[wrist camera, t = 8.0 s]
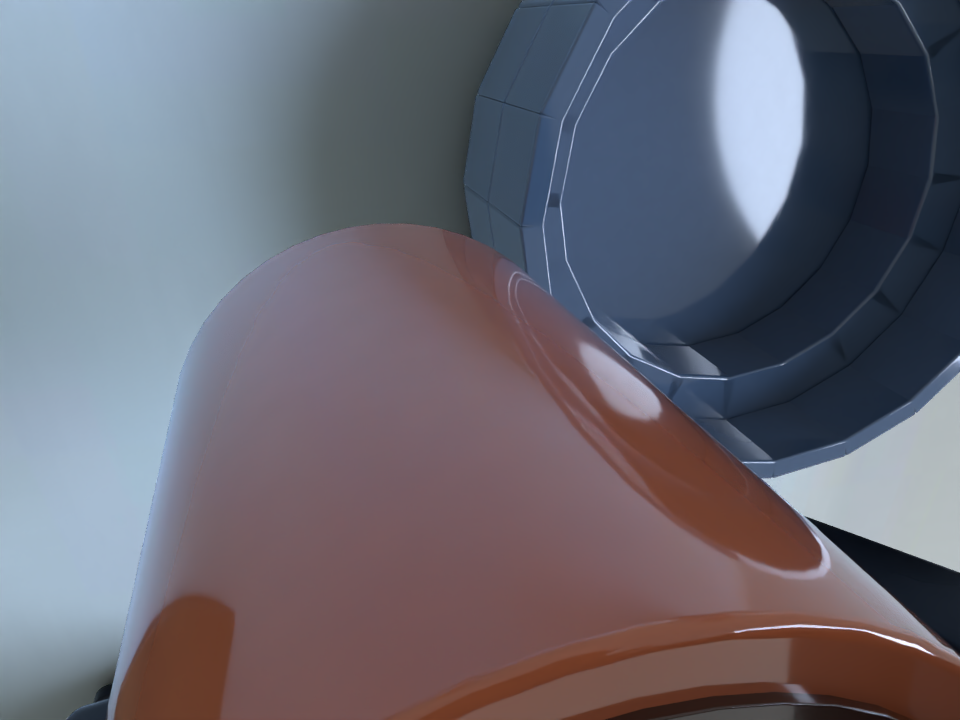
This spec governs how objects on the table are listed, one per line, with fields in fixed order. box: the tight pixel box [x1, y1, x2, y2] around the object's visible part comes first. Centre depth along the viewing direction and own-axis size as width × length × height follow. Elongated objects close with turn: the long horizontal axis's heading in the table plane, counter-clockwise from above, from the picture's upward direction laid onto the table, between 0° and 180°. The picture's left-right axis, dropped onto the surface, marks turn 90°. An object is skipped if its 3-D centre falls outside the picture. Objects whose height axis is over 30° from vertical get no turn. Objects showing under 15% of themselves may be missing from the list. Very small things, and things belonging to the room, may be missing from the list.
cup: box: [105, 223, 960, 720], centre depth 8 cm, size 6×6×8 cm
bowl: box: [463, 0, 960, 478], centre depth 18 cm, size 13×13×5 cm
